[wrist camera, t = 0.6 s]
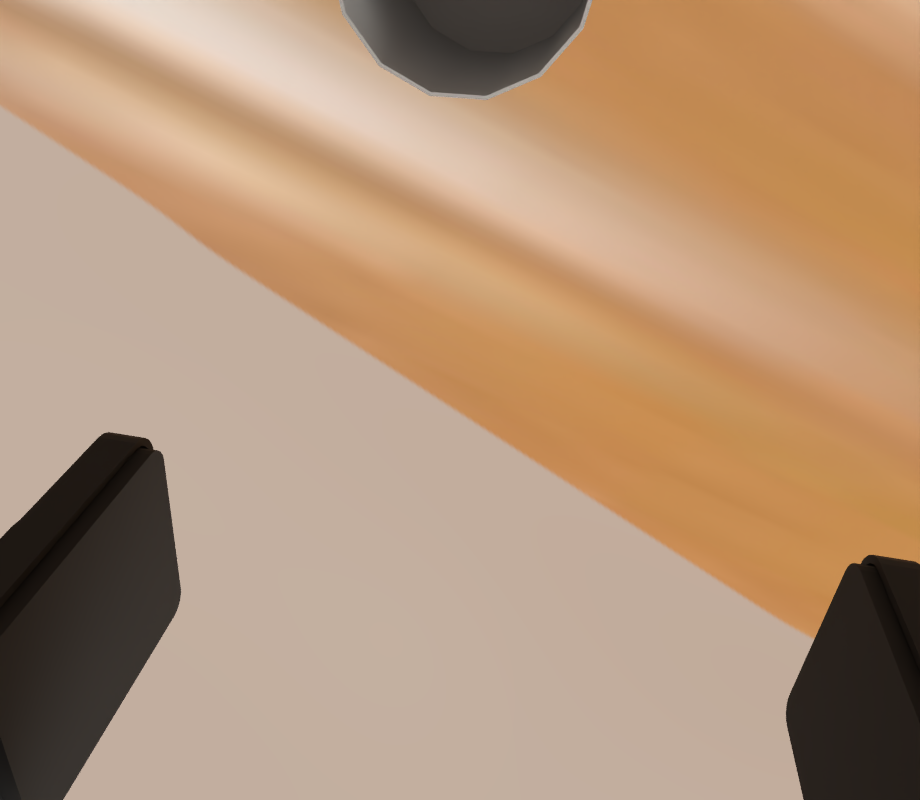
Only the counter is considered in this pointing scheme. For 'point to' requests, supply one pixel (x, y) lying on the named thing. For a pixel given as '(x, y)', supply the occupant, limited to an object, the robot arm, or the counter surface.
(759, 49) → the counter surface
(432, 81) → the cup
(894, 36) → the counter surface
